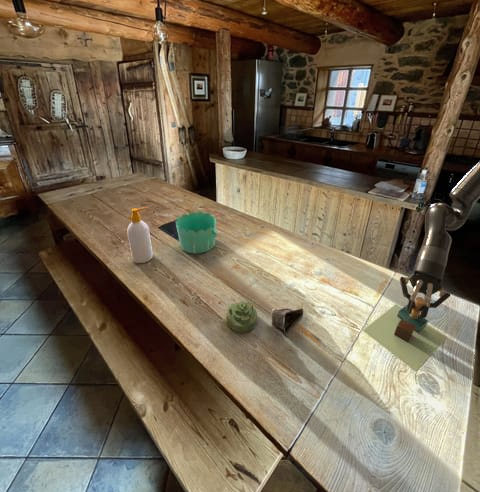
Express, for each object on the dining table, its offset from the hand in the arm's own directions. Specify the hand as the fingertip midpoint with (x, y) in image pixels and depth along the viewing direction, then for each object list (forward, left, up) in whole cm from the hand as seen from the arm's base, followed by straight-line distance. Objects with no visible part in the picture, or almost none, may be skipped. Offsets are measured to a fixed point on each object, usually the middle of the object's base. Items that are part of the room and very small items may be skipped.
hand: (415, 315), depth 80 cm
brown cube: (+2, 0, -7) cm, 8 cm away
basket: (+32, -82, -8) cm, 89 cm away
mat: (+1, 0, -8) cm, 8 cm away
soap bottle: (+57, -85, -8) cm, 103 cm away
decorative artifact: (+40, -33, -8) cm, 53 cm away
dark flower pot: (+28, -25, -8) cm, 39 cm away
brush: (-4, -1, -6) cm, 8 cm away
